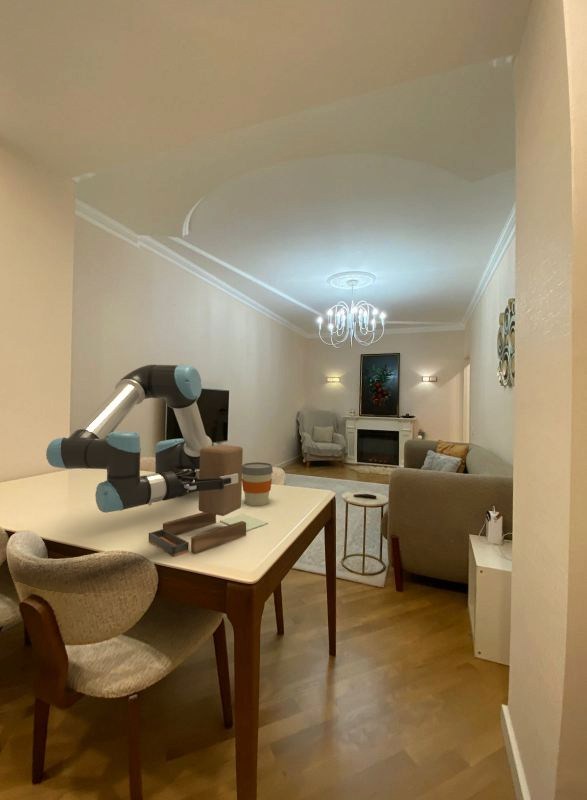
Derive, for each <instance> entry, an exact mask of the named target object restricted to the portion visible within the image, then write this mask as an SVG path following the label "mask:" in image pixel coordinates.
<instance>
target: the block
mask: <svg viewBox="0 0 587 800" xmlns="http://www.w3.org/2000/svg"><path fill="white" fill-rule="evenodd" d="M243 450H244V449H243V447H241V446H238V445H229V444H222V443H221V444H220V443H218V445H213V446H208V447H203V448H201V449H200V471H199V479H205V478H219V477H221V476H227V475H232V474H238V483H235V484H230V485H225V486H224V489H222V490H220V489H216V490H206V491H198V511H199V512H200V513H202V512H206V513H211V514H215V515H216V516H221V517H224V516H225V517H226V515H229V514H231V513H233V512H235V511H237V510H239V509H241V508H242V492H243V485H242V479H243V475H242V465H243V460H244V459H243V455H244V454H243V452H244V451H243Z"/></svg>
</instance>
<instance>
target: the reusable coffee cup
mask: <svg viewBox="0 0 587 800" xmlns="http://www.w3.org/2000/svg"><path fill="white" fill-rule="evenodd" d="M273 471H274V469H273V464H271V463H269V462H260V461H259V462H258V461H256V462H254V461H253V462H246V463H244V464H243V463H242V492H244V493H243V494H244V500H245V501H244V502H245V504H246V505H247V506H253V507H255V506H257V507H259V506H265V505H267V504H268V503H269V496H270V491H271V489H272V481H273V478H272V476H273V475H272V474H273Z"/></svg>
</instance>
